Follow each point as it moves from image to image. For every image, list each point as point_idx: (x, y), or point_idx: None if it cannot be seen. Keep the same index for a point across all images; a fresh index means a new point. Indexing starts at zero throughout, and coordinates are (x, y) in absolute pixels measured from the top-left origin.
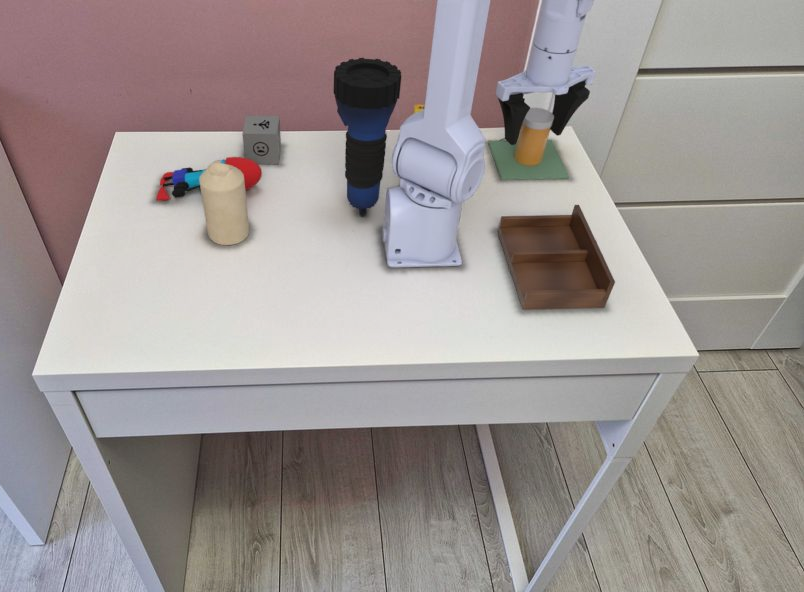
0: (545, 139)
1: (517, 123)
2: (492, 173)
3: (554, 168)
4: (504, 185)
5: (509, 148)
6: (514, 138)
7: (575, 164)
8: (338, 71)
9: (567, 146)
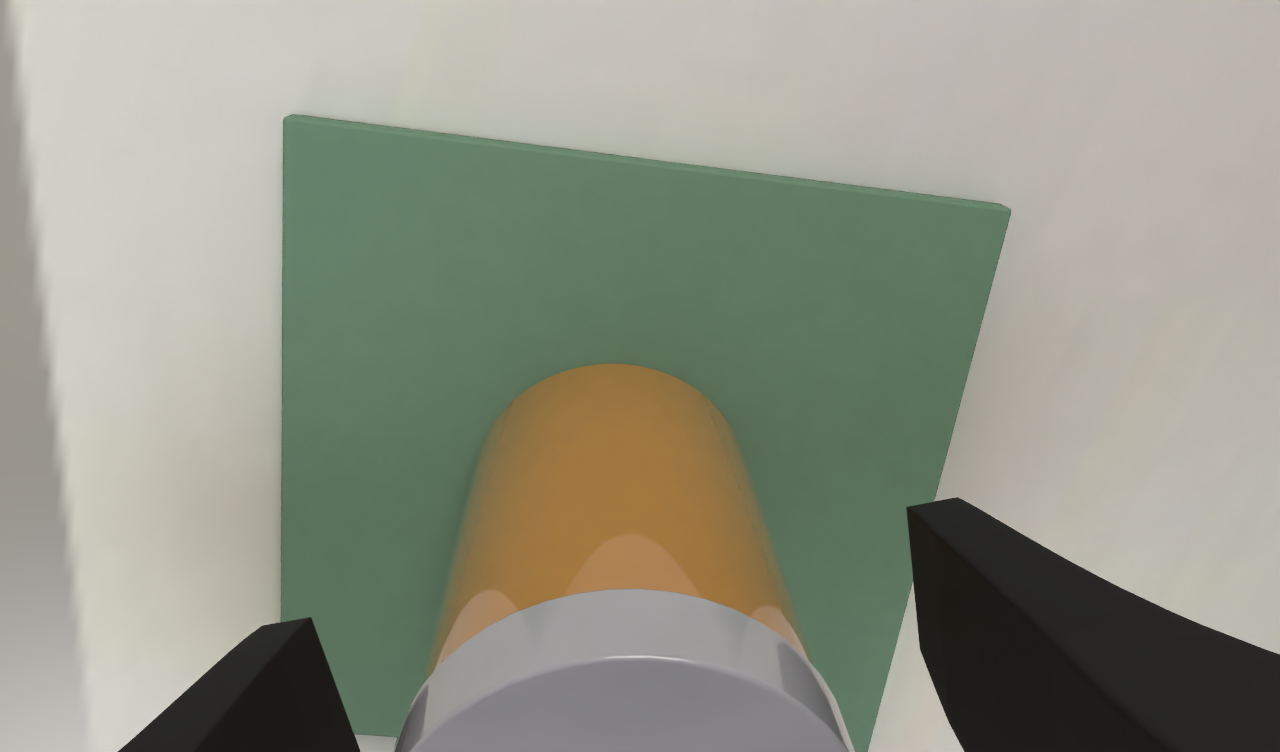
0: (516, 523)
1: (1185, 649)
2: (1029, 326)
3: (400, 287)
4: (1010, 107)
5: None
6: (1003, 528)
7: (142, 355)
8: None
9: (147, 639)
